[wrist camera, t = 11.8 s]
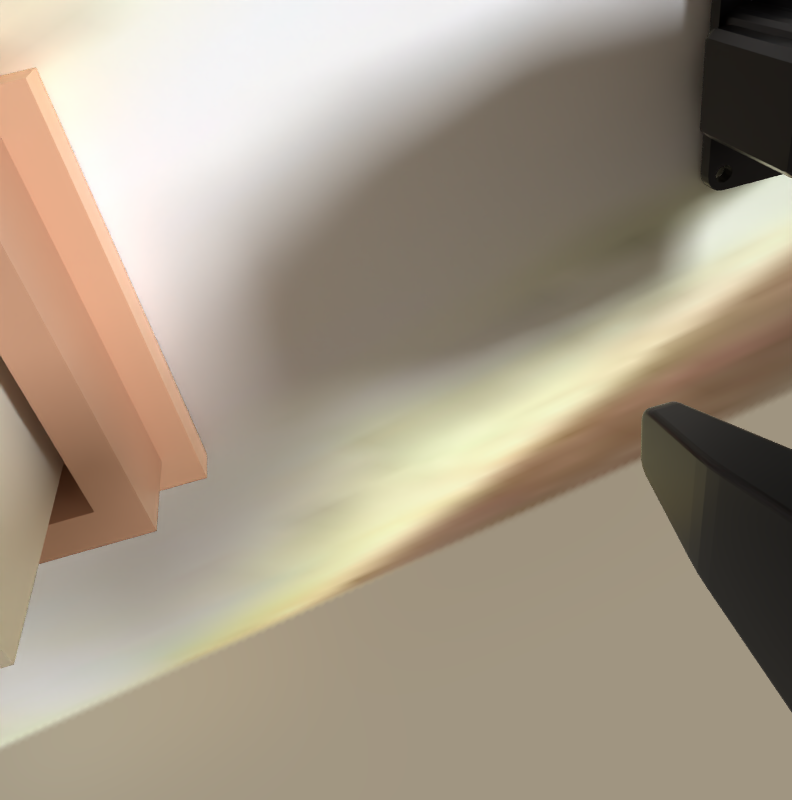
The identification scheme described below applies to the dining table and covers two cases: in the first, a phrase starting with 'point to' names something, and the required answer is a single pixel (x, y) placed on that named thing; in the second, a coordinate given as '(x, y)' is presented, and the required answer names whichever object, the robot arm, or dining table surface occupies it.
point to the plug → (21, 506)
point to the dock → (82, 339)
